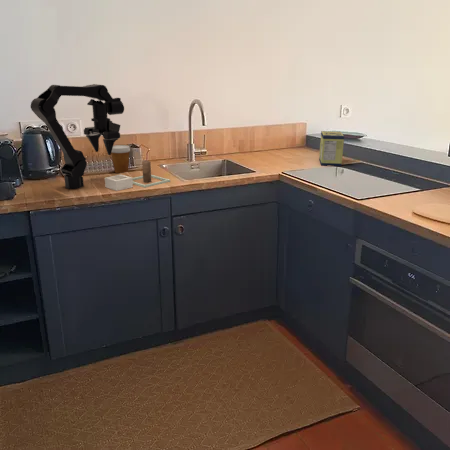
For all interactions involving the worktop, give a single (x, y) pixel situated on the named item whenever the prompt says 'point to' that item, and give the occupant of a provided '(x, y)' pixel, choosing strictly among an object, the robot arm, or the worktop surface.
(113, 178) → the box
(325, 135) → the protein box
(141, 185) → the pale green square frame
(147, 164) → the walnut pin
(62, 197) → the worktop surface
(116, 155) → the disposable coffee cup
